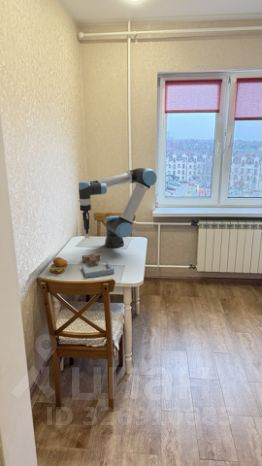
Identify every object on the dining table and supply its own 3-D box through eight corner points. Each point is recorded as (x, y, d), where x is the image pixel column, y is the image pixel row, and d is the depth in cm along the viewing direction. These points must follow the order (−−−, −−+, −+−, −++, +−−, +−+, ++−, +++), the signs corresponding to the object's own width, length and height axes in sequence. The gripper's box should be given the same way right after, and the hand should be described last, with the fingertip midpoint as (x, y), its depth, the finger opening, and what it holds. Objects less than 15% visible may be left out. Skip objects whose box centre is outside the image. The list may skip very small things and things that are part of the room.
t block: (99, 258, 225) (98, 253, 224) (103, 264, 214) (103, 258, 213) (82, 260, 222) (81, 255, 221) (85, 267, 211) (85, 261, 210)
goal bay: (108, 264, 213) (107, 260, 213) (114, 273, 200) (113, 268, 199) (81, 268, 208) (81, 264, 207) (86, 277, 194) (86, 273, 194)
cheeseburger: (50, 268, 210) (52, 254, 208) (66, 271, 212) (69, 257, 209) (47, 274, 200) (50, 259, 198) (65, 277, 202) (67, 262, 200)
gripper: (78, 203, 224) (80, 235, 231) (81, 206, 212) (83, 240, 219) (88, 202, 227) (90, 234, 233) (92, 205, 215) (94, 239, 221)
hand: (87, 237), depth 226 cm, fingers closed
